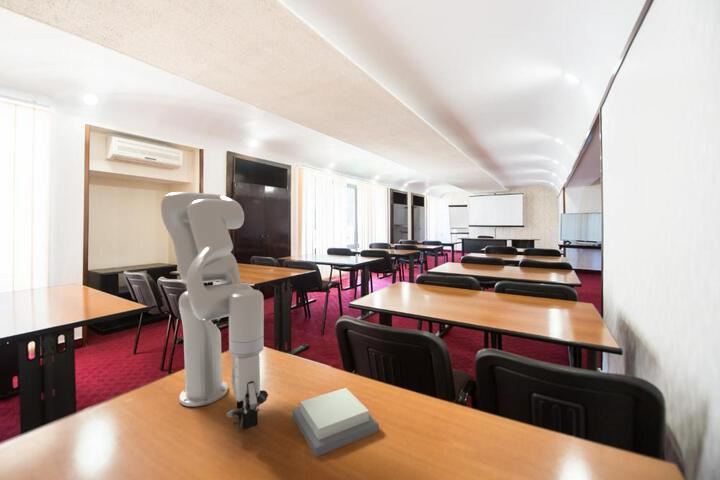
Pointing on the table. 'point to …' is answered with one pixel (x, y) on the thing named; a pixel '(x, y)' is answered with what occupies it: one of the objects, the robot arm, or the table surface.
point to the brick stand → (333, 421)
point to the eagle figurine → (234, 412)
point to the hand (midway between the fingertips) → (246, 416)
